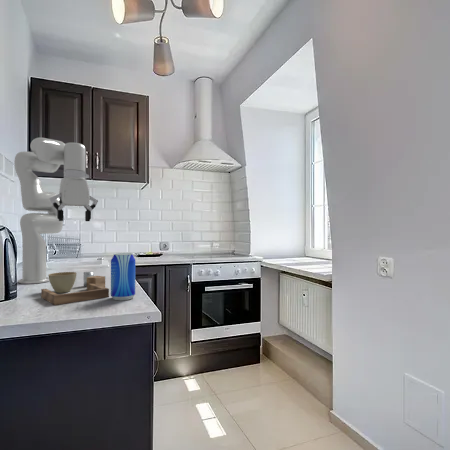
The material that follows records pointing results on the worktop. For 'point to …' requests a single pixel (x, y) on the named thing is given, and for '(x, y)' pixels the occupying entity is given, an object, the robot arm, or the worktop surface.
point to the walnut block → (96, 280)
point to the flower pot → (62, 281)
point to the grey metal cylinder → (87, 274)
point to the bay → (75, 295)
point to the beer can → (123, 276)
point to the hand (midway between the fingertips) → (74, 221)
